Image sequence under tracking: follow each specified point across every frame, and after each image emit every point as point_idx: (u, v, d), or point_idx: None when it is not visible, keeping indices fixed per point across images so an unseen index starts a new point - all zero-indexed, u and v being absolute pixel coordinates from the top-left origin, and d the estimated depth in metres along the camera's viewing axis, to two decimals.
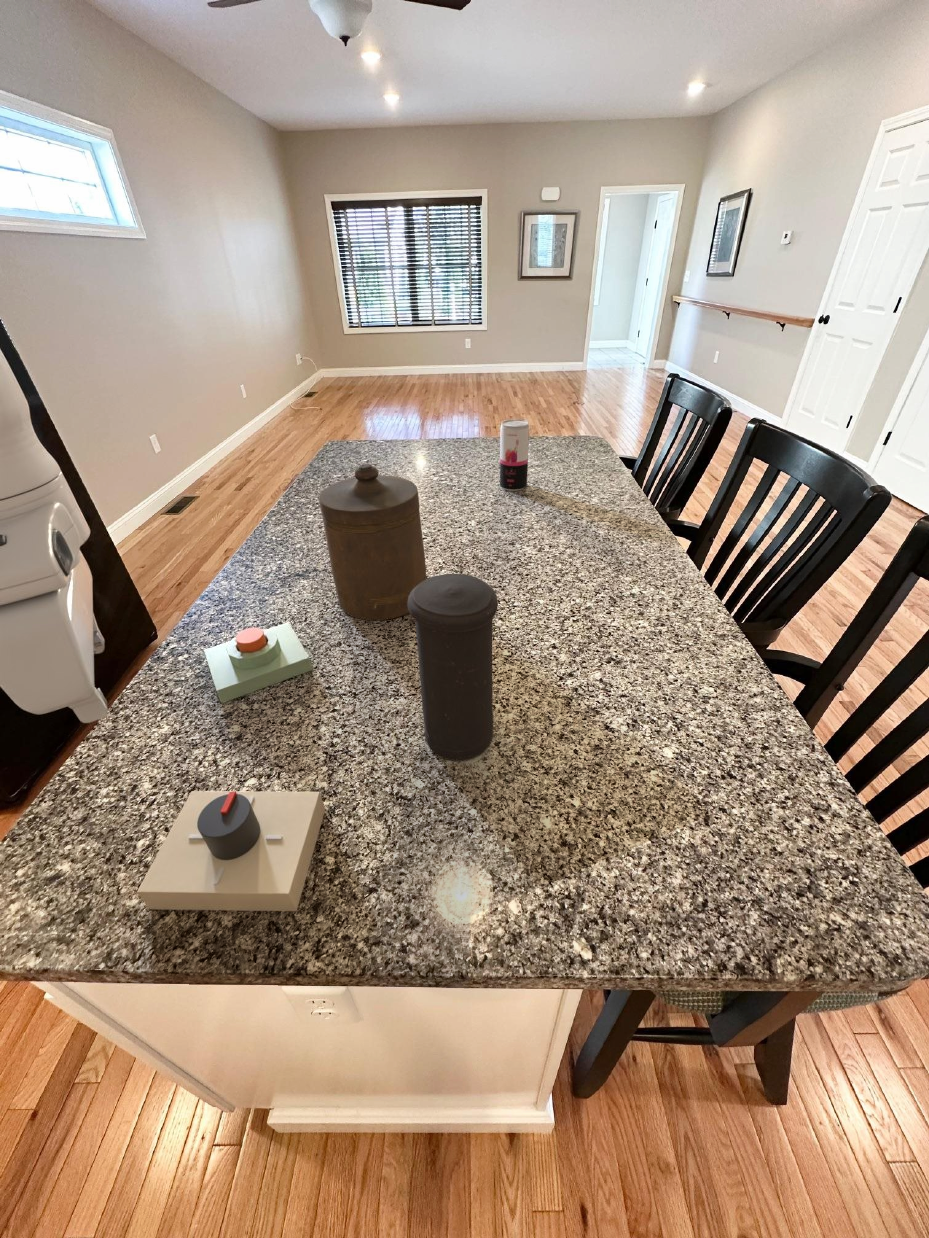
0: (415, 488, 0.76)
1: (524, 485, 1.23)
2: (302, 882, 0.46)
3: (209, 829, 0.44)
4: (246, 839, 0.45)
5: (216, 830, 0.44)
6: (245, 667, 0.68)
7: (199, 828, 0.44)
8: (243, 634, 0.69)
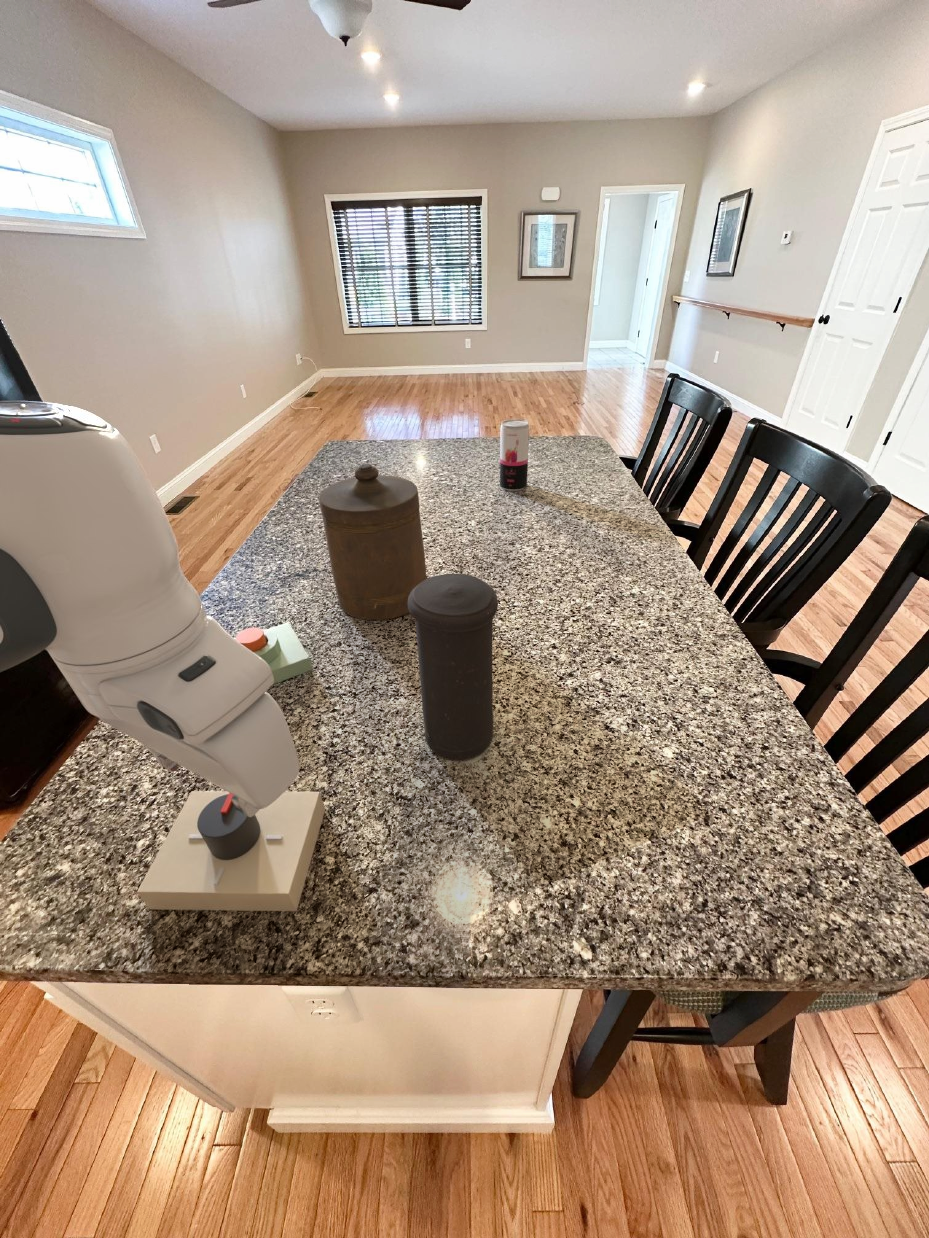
0: (415, 488, 0.76)
1: (524, 485, 1.23)
2: (302, 882, 0.46)
3: (209, 829, 0.44)
4: (246, 839, 0.45)
5: (216, 830, 0.44)
6: None
7: (199, 828, 0.44)
8: (243, 634, 0.69)
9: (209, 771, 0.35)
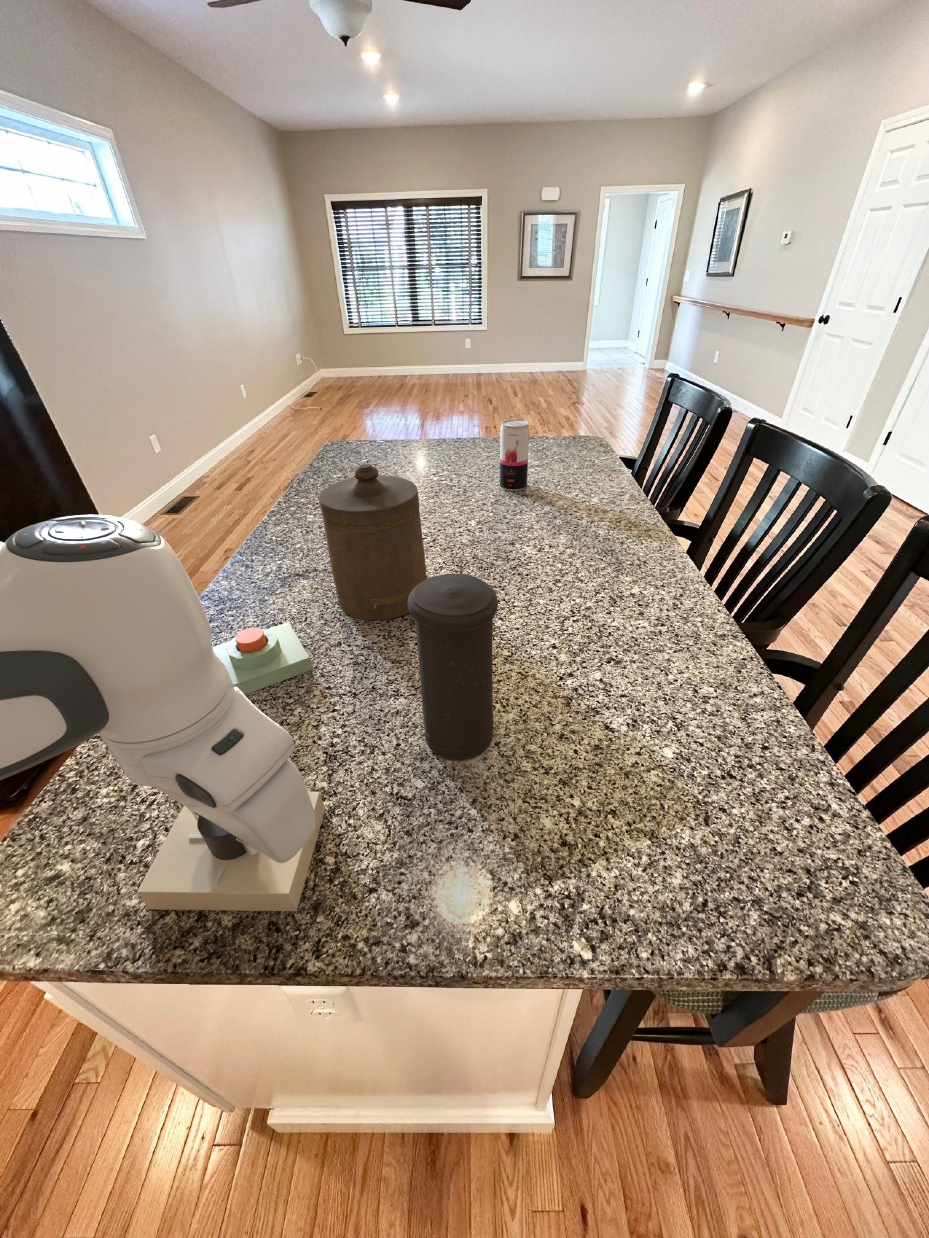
0: (415, 488, 0.76)
1: (524, 485, 1.23)
2: (302, 882, 0.46)
3: (209, 829, 0.44)
4: None
5: (216, 830, 0.44)
6: (245, 667, 0.68)
7: (199, 828, 0.44)
8: (243, 634, 0.69)
9: (234, 828, 0.39)
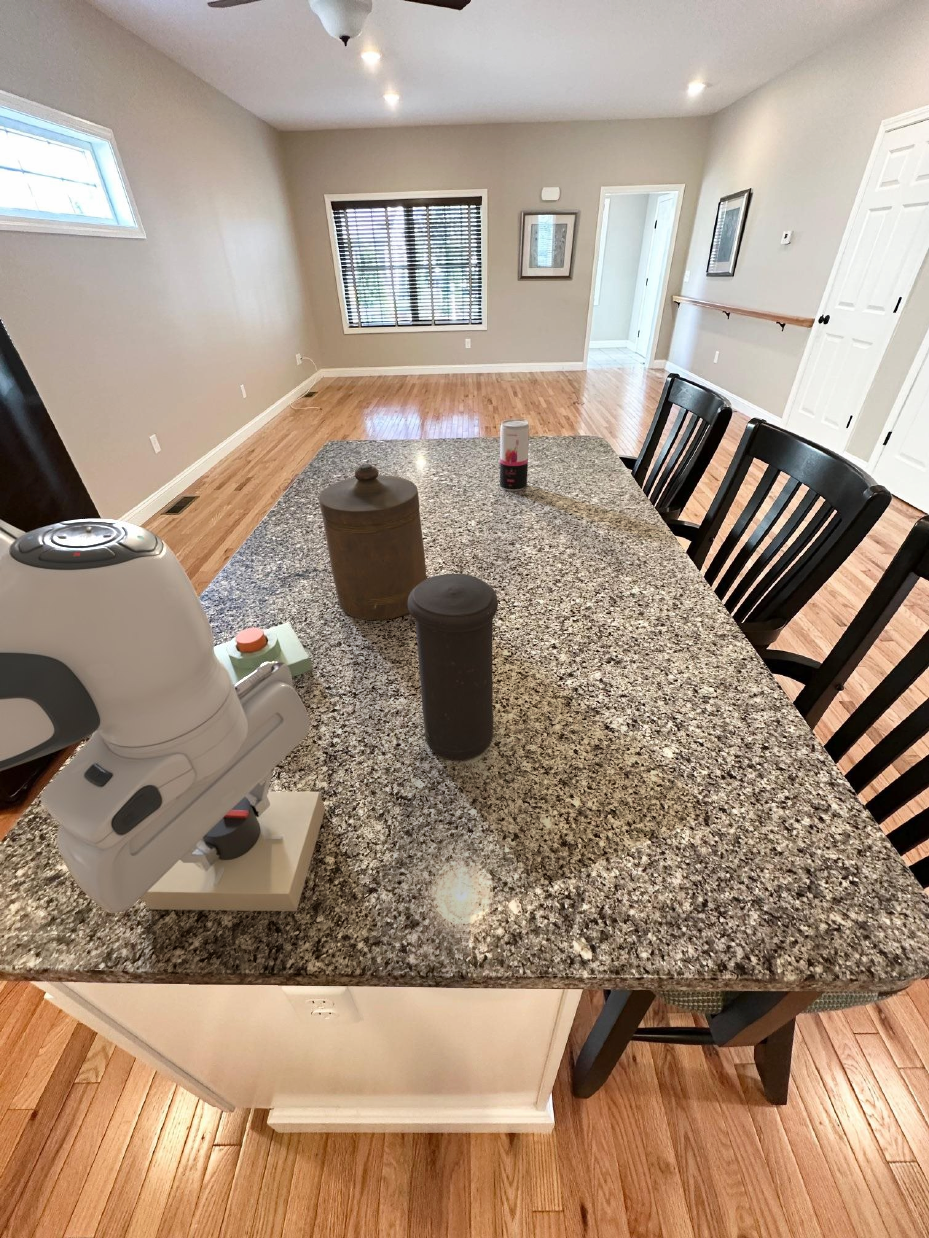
0: (415, 488, 0.76)
1: (524, 485, 1.23)
2: (302, 882, 0.46)
3: None
4: None
5: None
6: (245, 667, 0.68)
7: None
8: (243, 634, 0.69)
9: None
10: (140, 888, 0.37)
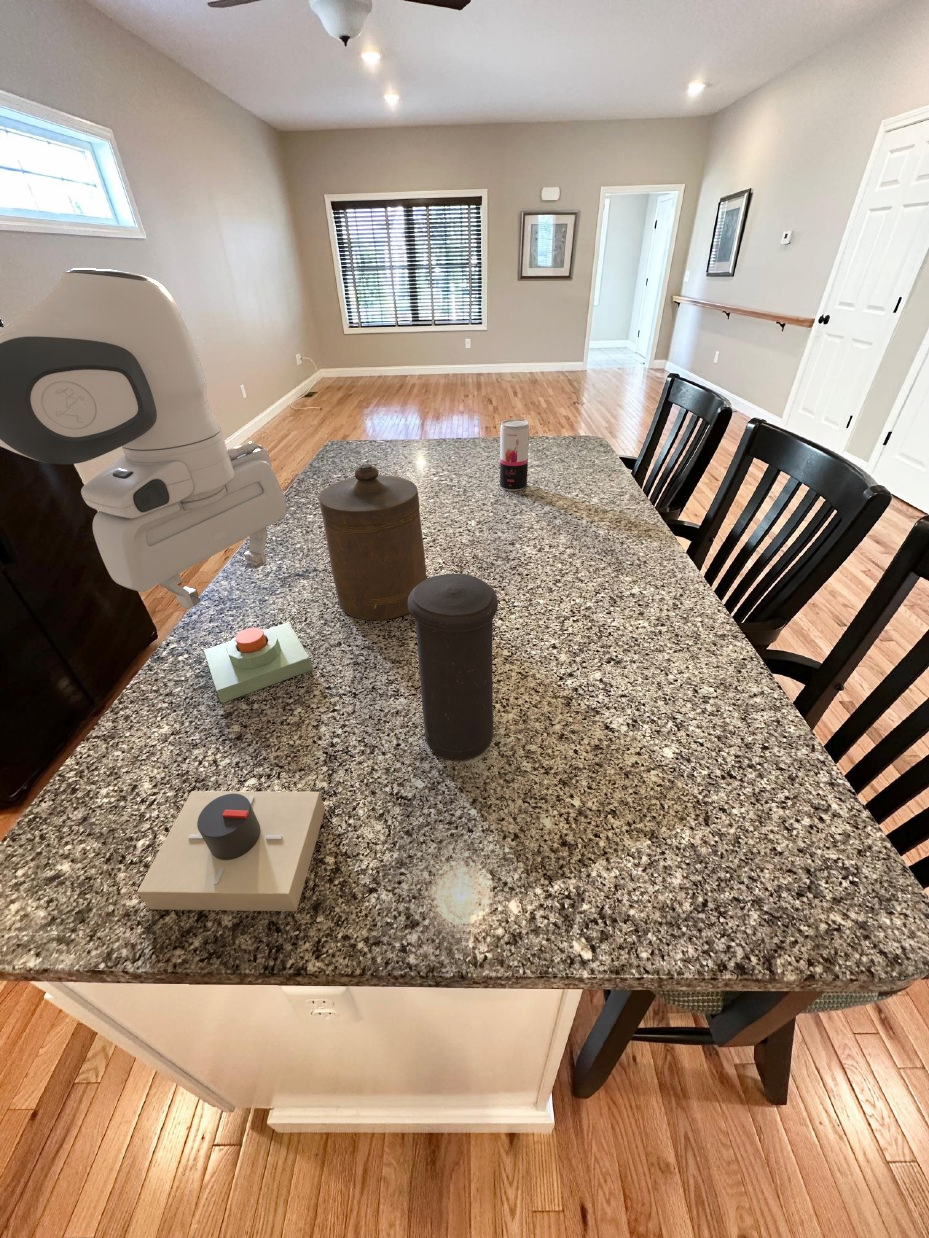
0: (415, 488, 0.76)
1: (524, 485, 1.23)
2: (302, 882, 0.46)
3: (211, 807, 0.46)
4: (208, 846, 0.45)
5: (207, 813, 0.45)
6: (245, 667, 0.68)
7: (217, 798, 0.46)
8: (243, 634, 0.69)
9: None
10: (153, 576, 0.49)
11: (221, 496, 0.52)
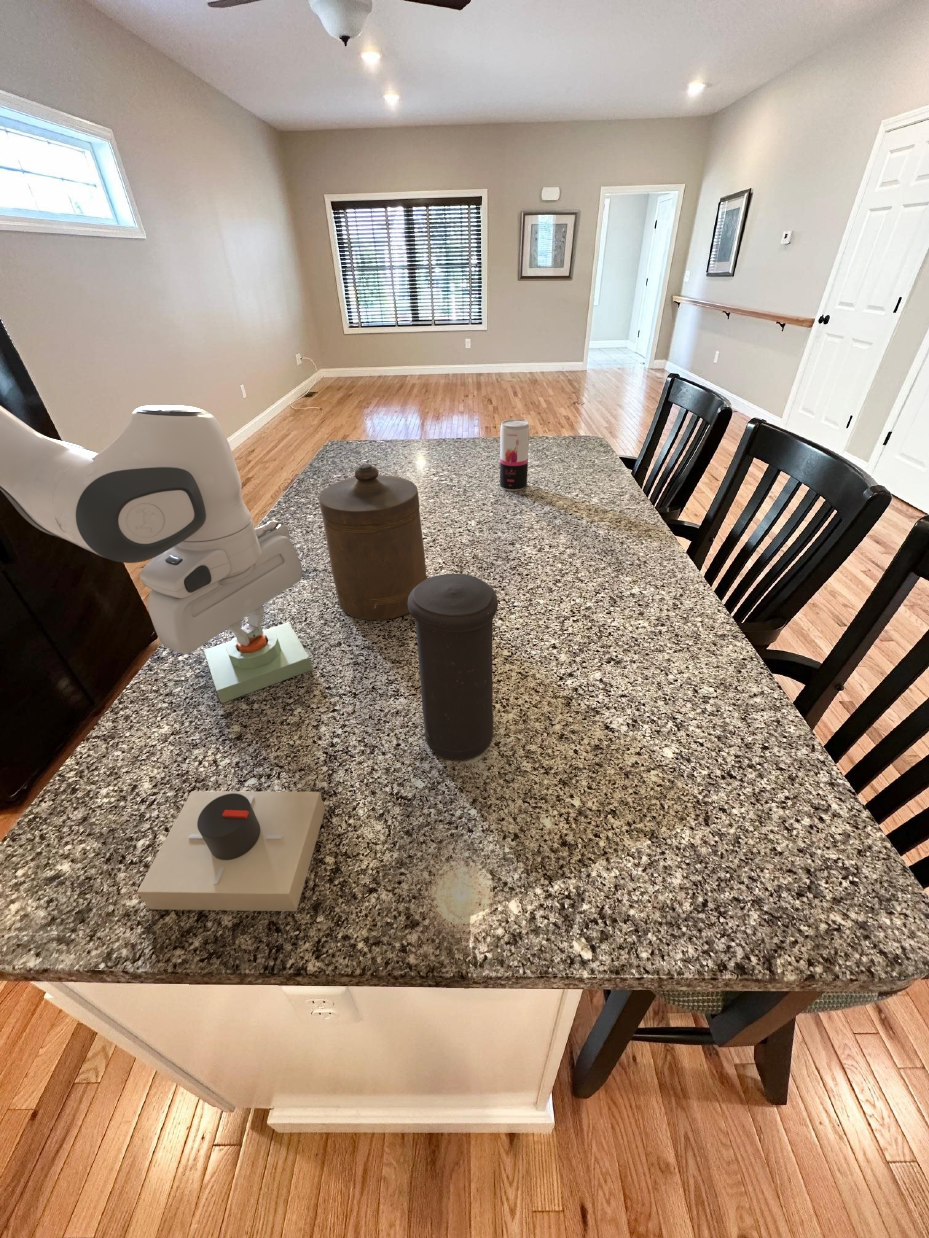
0: (415, 488, 0.76)
1: (524, 485, 1.23)
2: (302, 882, 0.46)
3: (211, 807, 0.46)
4: (208, 846, 0.45)
5: (207, 813, 0.45)
6: (245, 667, 0.68)
7: (217, 798, 0.46)
8: None
9: None
10: (196, 641, 0.59)
11: (251, 571, 0.62)
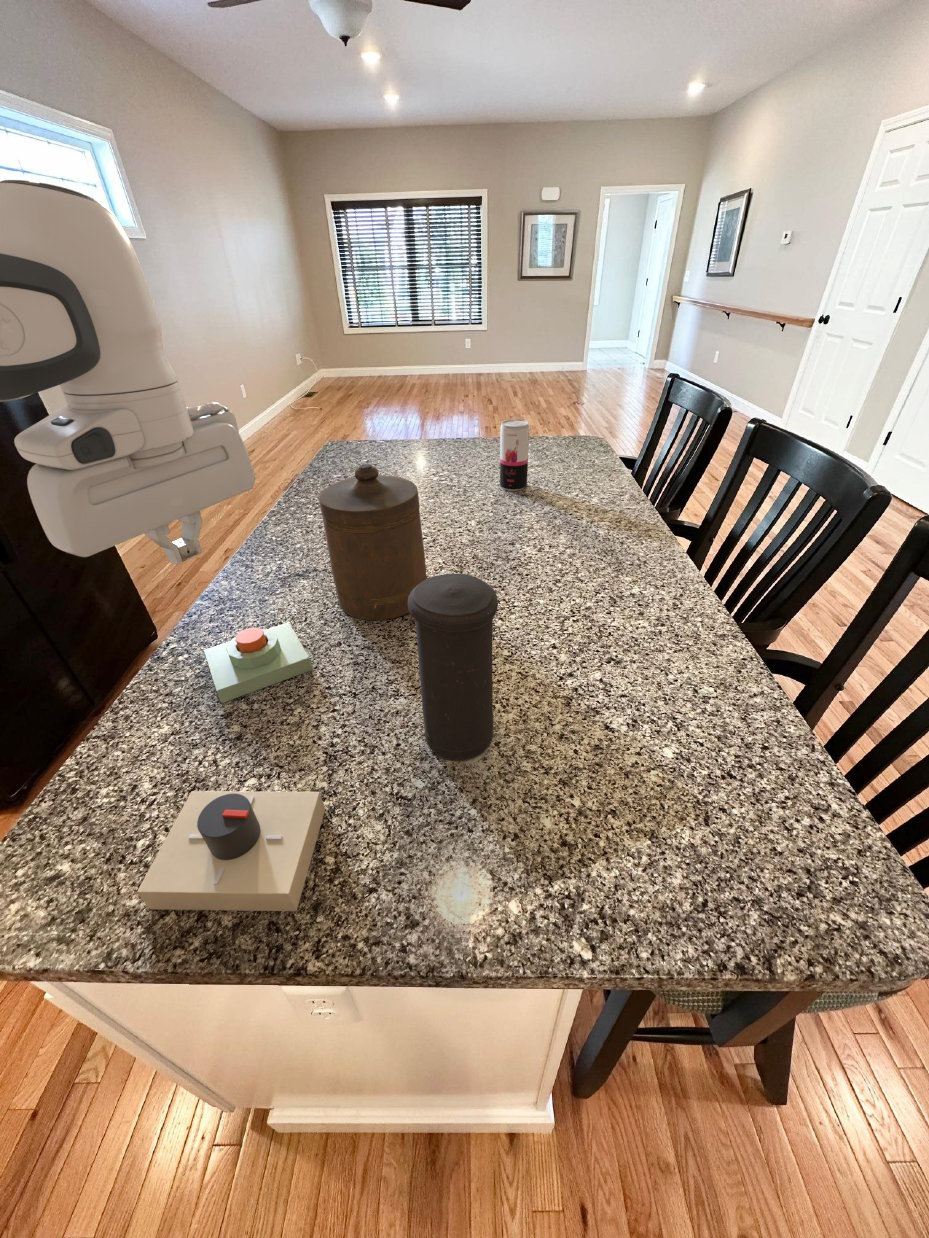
0: (415, 488, 0.76)
1: (524, 485, 1.23)
2: (302, 882, 0.46)
3: (211, 807, 0.46)
4: (208, 846, 0.45)
5: (207, 813, 0.45)
6: (245, 667, 0.68)
7: (217, 798, 0.46)
8: (243, 634, 0.69)
9: None
10: (97, 540, 0.44)
11: (178, 456, 0.47)
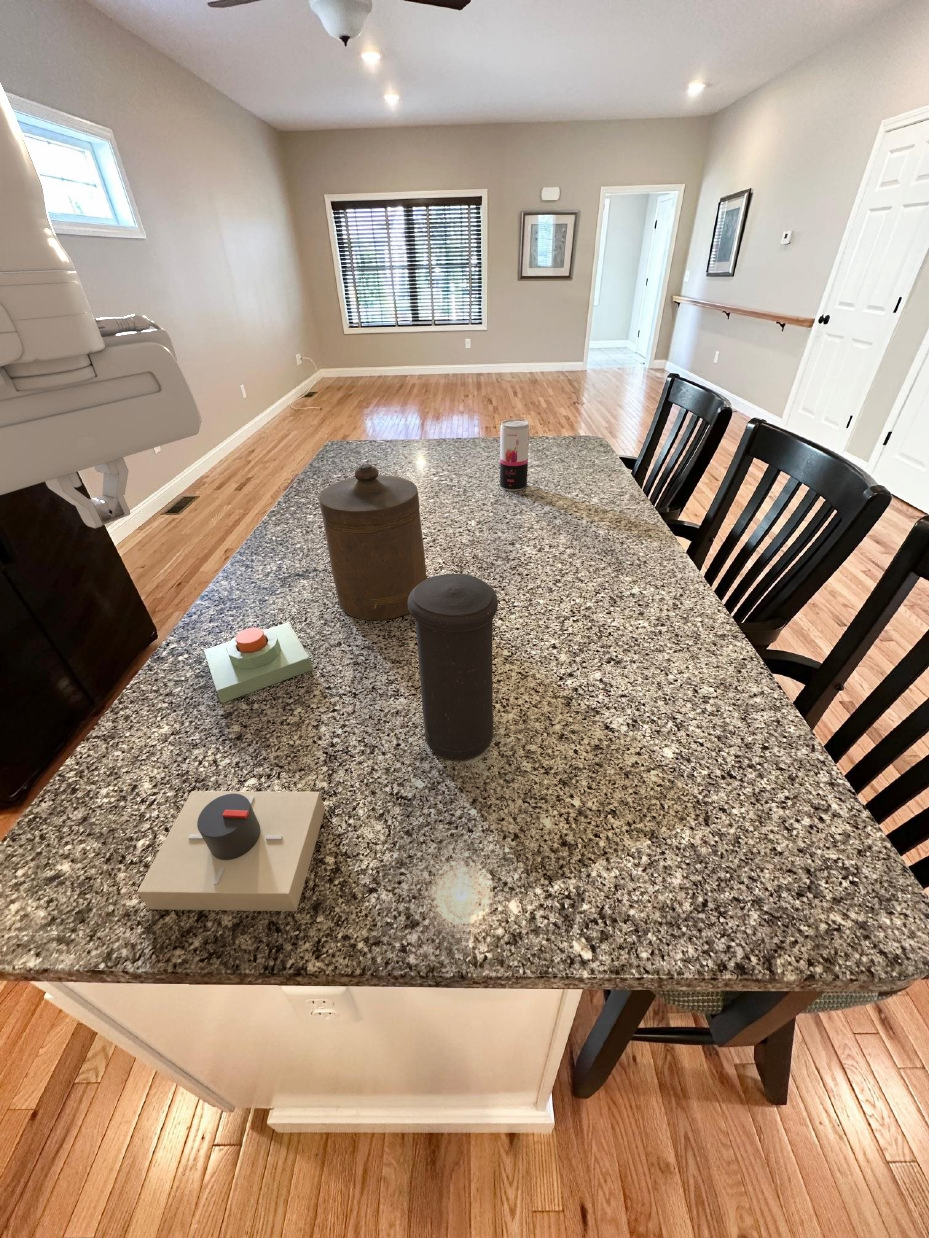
0: (415, 488, 0.76)
1: (524, 485, 1.23)
2: (302, 882, 0.46)
3: (211, 807, 0.46)
4: (208, 846, 0.45)
5: (207, 813, 0.45)
6: (245, 667, 0.68)
7: (217, 798, 0.46)
8: (243, 634, 0.69)
9: None
10: None
11: (81, 377, 0.35)
